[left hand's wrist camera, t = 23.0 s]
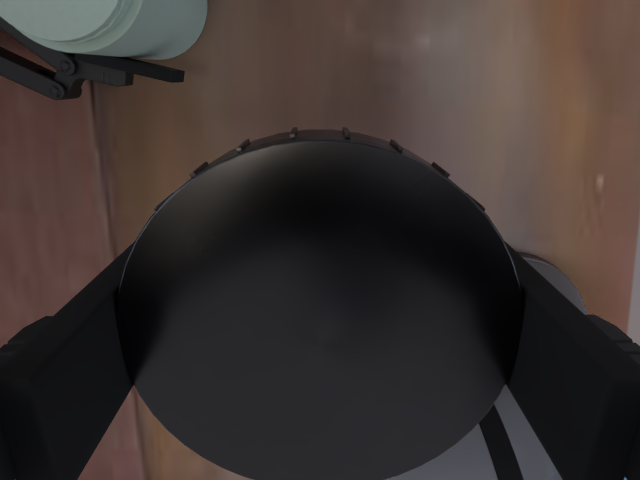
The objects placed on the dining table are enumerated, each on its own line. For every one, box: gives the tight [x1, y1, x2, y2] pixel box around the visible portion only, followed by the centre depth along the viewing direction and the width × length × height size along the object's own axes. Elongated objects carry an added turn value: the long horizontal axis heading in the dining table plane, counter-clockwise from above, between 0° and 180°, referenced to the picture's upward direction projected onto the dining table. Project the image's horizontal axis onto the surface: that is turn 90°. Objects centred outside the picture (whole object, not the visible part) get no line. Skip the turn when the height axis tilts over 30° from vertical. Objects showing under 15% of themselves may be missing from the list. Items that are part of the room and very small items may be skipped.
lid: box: [117, 127, 523, 480], centre depth 11 cm, size 10×10×2 cm
